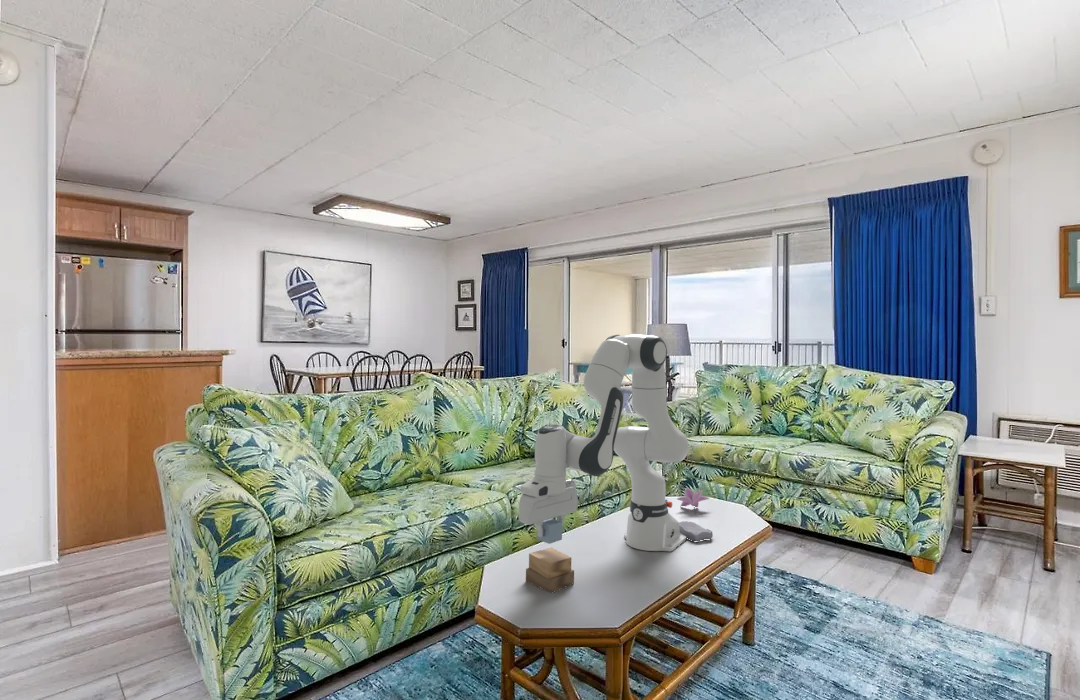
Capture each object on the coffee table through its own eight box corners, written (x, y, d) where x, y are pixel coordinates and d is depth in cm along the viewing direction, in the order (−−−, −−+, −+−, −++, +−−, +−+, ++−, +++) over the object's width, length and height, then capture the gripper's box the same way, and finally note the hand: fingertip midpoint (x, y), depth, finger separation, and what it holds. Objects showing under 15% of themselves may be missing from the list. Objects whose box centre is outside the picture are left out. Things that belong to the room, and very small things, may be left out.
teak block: (551, 561, 163) (551, 547, 163) (571, 571, 155) (571, 557, 155) (528, 567, 158) (529, 553, 158) (548, 578, 151) (548, 563, 151)
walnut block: (548, 573, 163) (548, 560, 163) (573, 584, 156) (574, 570, 156) (525, 582, 157) (525, 568, 157) (551, 594, 150) (551, 579, 150)
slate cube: (549, 535, 160) (549, 517, 160) (562, 539, 156) (562, 521, 156) (536, 539, 156) (536, 521, 156) (549, 543, 153) (549, 525, 153)
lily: (713, 514, 226) (708, 490, 231) (706, 509, 217) (701, 484, 222) (684, 519, 231) (679, 496, 235) (676, 514, 222) (671, 490, 226)
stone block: (693, 534, 204) (671, 532, 200) (696, 521, 204) (674, 518, 200) (715, 547, 193) (692, 544, 189) (718, 533, 193) (695, 530, 189)
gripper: (567, 476, 166) (566, 523, 166) (515, 487, 152) (514, 538, 152) (583, 480, 161) (582, 528, 161) (531, 492, 147) (530, 545, 147)
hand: (549, 533), depth 156 cm, fingers closed on slate cube, 5 cm apart
